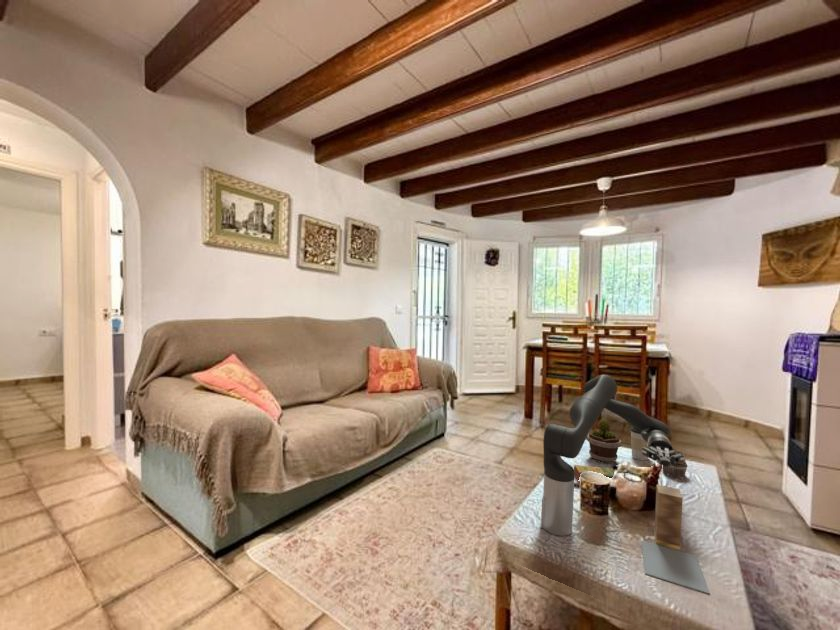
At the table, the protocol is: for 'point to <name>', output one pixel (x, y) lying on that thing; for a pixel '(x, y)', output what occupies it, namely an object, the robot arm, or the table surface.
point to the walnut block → (668, 517)
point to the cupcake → (676, 468)
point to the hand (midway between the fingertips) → (665, 463)
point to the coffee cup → (638, 444)
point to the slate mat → (673, 566)
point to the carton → (605, 471)
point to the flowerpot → (603, 443)
